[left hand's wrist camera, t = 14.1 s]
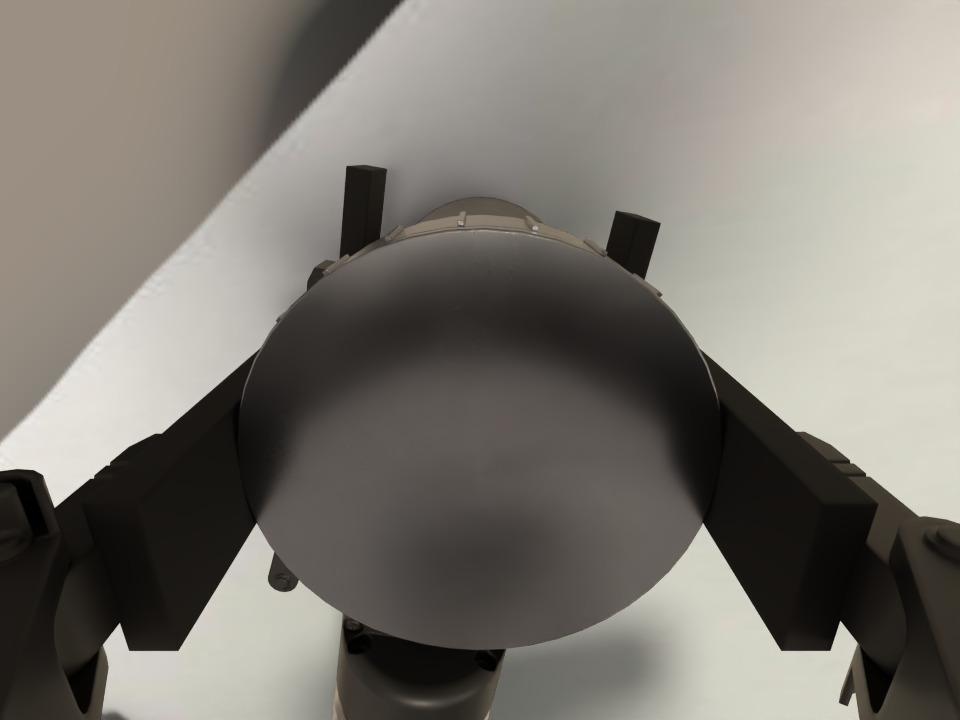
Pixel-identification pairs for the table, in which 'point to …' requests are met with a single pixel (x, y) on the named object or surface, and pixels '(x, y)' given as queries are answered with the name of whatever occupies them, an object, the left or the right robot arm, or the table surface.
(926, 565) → the left robot arm
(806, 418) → the table surface
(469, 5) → the table surface
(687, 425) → the lid
